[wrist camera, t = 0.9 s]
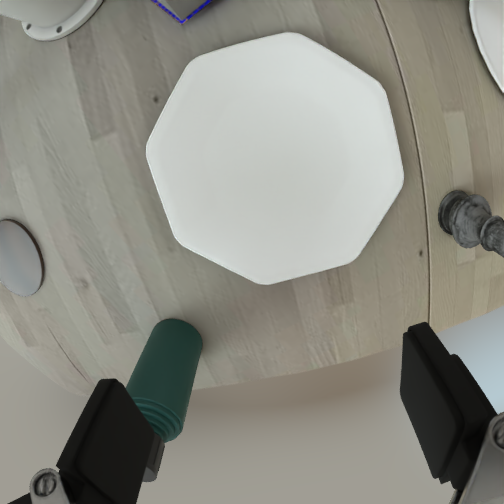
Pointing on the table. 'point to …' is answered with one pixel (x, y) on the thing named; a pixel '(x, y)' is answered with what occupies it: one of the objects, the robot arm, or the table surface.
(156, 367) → the bottle
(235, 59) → the plate
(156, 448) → the cap
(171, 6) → the grey divided box
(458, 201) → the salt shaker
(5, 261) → the lid
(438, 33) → the table surface
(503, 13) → the plate
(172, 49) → the table surface
